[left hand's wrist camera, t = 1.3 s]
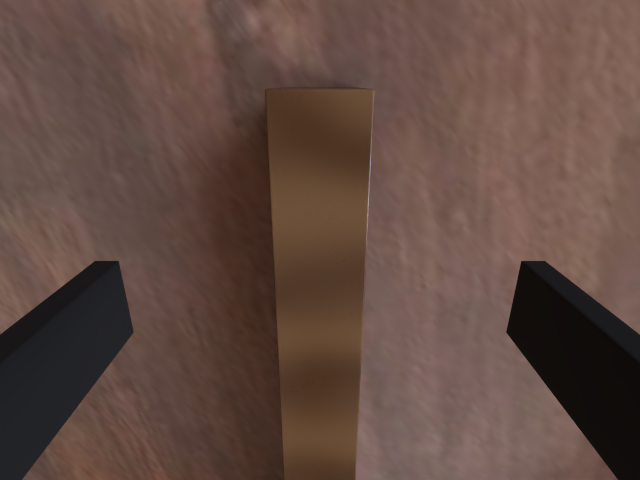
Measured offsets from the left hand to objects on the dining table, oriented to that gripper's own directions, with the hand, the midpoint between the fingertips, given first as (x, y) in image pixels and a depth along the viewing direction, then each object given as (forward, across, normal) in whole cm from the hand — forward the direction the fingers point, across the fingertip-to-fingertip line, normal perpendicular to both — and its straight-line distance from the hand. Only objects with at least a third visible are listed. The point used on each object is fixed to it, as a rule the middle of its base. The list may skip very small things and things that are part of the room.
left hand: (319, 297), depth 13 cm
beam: (+16, 0, -19) cm, 25 cm away
